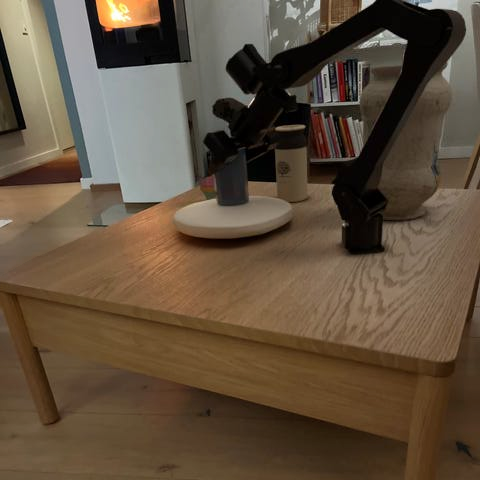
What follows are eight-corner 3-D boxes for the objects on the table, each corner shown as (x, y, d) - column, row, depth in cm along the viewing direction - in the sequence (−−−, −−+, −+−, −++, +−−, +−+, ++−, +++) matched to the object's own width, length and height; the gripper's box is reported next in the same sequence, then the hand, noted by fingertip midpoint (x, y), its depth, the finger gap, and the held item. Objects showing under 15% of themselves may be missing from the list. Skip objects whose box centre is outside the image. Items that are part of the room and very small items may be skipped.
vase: (424, 200, 115) (437, 59, 101) (451, 220, 99) (472, 57, 85) (349, 205, 116) (352, 67, 102) (364, 227, 100) (370, 67, 86)
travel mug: (294, 193, 131) (292, 124, 123) (313, 198, 125) (312, 125, 117) (271, 199, 128) (267, 128, 119) (290, 204, 122) (287, 129, 113)
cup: (256, 200, 104) (251, 137, 98) (231, 207, 100) (225, 142, 94) (234, 196, 109) (229, 136, 103) (210, 203, 105) (203, 141, 99)
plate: (193, 193, 120) (298, 190, 115) (195, 219, 123) (298, 217, 117) (152, 212, 95) (284, 209, 89) (156, 244, 98) (285, 243, 92)
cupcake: (198, 201, 133) (193, 156, 128) (227, 196, 135) (223, 152, 130) (206, 208, 126) (200, 161, 120) (236, 203, 128) (232, 156, 122)
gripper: (264, 78, 98) (227, 134, 109) (204, 85, 85) (170, 148, 97) (298, 118, 97) (257, 171, 108) (242, 132, 84) (203, 190, 96)
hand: (223, 169), depth 102 cm, fingers open, 9 cm apart
